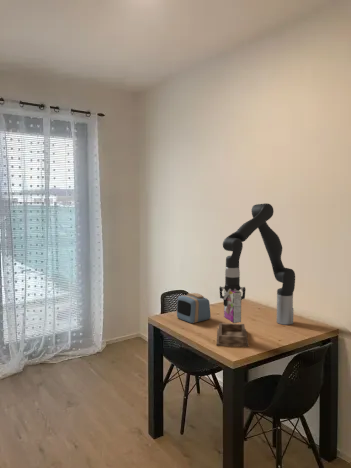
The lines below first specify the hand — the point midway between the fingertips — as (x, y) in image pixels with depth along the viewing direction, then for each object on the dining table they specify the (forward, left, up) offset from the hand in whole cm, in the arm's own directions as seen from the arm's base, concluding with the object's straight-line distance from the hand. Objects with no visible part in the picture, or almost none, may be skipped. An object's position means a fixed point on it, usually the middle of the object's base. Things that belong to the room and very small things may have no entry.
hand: (232, 306), depth 208 cm
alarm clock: (+23, -32, -18) cm, 43 cm away
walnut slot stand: (0, 0, -17) cm, 17 cm away
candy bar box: (0, 0, -8) cm, 8 cm away
